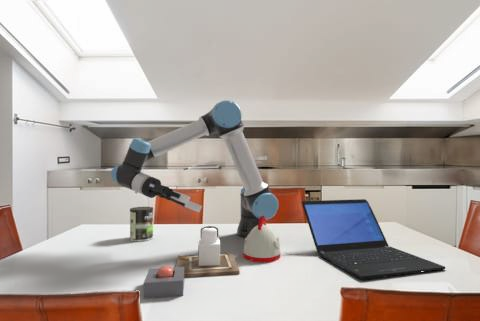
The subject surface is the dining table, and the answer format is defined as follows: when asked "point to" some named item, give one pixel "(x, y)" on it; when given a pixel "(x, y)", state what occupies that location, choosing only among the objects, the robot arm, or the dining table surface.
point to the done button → (165, 272)
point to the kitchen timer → (261, 244)
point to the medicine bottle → (209, 247)
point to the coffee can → (141, 223)
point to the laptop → (358, 240)
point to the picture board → (194, 270)
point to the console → (164, 284)
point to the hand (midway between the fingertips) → (194, 205)
